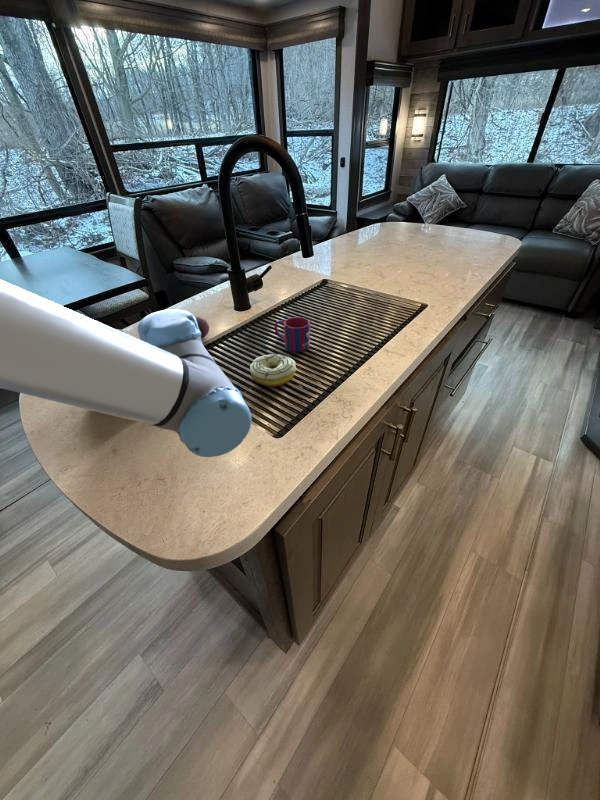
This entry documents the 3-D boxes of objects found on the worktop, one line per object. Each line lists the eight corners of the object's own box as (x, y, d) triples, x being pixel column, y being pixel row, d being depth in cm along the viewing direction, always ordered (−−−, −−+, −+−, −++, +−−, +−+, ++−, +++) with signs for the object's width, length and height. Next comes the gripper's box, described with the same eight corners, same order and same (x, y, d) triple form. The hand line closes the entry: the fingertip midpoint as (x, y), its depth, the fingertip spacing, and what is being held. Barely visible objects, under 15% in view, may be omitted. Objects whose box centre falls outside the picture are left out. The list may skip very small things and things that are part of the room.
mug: (301, 354, 85) (300, 330, 81) (270, 344, 90) (268, 321, 86) (314, 344, 90) (314, 320, 86) (284, 334, 94) (283, 312, 90)
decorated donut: (282, 359, 84) (281, 346, 81) (304, 380, 76) (304, 366, 74) (244, 371, 80) (242, 358, 77) (263, 394, 72) (262, 380, 70)
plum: (176, 339, 93) (171, 319, 89) (201, 329, 98) (197, 309, 94) (190, 348, 89) (185, 327, 85) (216, 337, 94) (212, 317, 90)
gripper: (97, 434, 53) (61, 380, 66) (227, 374, 67) (177, 338, 79) (77, 398, 49) (42, 347, 61) (221, 340, 62) (169, 308, 74)
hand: (118, 342), depth 70 cm, fingers open, 13 cm apart
